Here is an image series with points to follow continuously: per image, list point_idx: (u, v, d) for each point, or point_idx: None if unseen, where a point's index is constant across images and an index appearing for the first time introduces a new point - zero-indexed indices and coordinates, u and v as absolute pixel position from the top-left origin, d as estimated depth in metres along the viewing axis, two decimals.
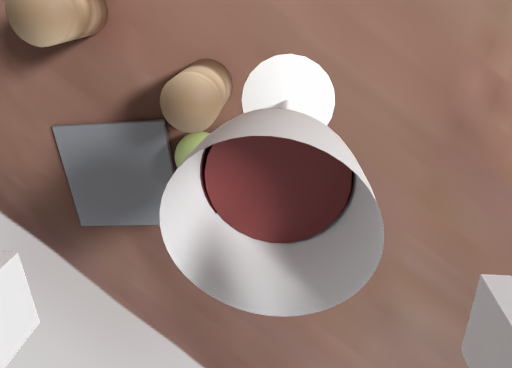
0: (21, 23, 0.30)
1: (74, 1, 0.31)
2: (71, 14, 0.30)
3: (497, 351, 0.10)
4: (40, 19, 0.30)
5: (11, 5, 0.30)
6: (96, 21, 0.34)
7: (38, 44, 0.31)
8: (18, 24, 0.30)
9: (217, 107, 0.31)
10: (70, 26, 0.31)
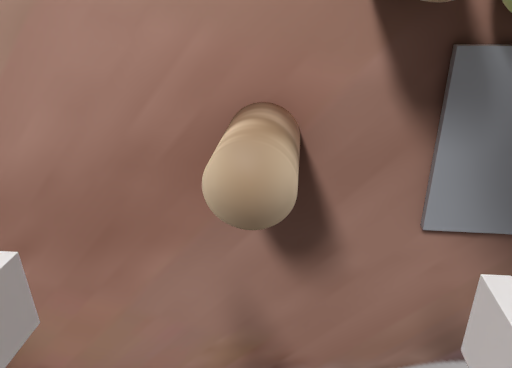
0: (260, 213, 0.20)
1: (240, 131, 0.20)
2: (255, 137, 0.19)
3: (497, 351, 0.10)
4: (256, 183, 0.19)
5: (234, 217, 0.20)
6: (278, 116, 0.23)
7: (292, 199, 0.19)
8: (261, 217, 0.20)
9: None
10: (272, 143, 0.19)
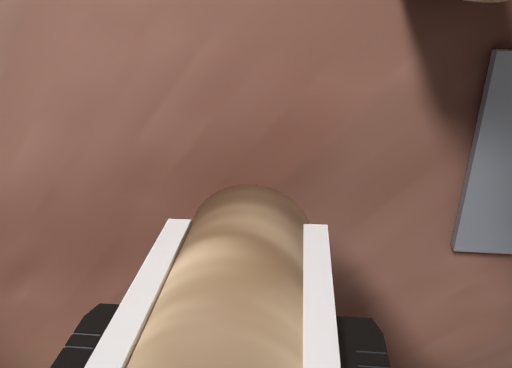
0: None
1: (198, 282, 0.10)
2: (226, 310, 0.09)
3: None
4: None
5: None
6: (275, 222, 0.13)
7: None
8: None
9: None
10: (263, 327, 0.09)
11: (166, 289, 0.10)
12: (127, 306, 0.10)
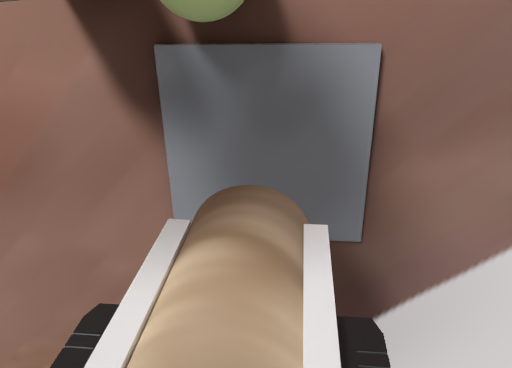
0: None
1: (198, 283, 0.10)
2: (225, 311, 0.09)
3: None
4: None
5: None
6: (275, 222, 0.13)
7: None
8: None
9: None
10: (262, 328, 0.09)
11: (165, 290, 0.10)
12: (127, 306, 0.10)
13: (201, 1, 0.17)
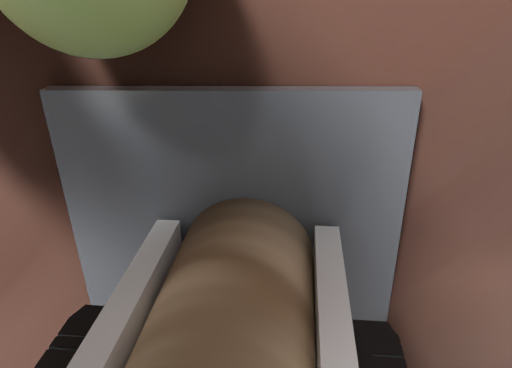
0: None
1: (186, 314, 0.09)
2: (216, 349, 0.08)
3: (314, 284, 0.12)
4: None
5: None
6: (272, 241, 0.12)
7: None
8: None
9: None
10: None
11: (152, 319, 0.10)
12: (111, 307, 0.10)
13: (78, 24, 0.08)
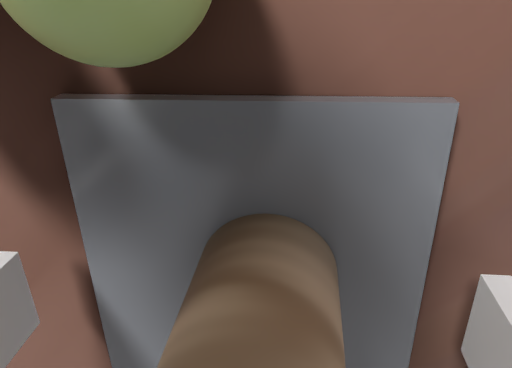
0: None
1: (210, 348, 0.08)
2: None
3: (497, 351, 0.10)
4: None
5: None
6: (298, 263, 0.11)
7: None
8: None
9: None
10: None
11: (172, 351, 0.09)
12: None
13: (94, 32, 0.07)
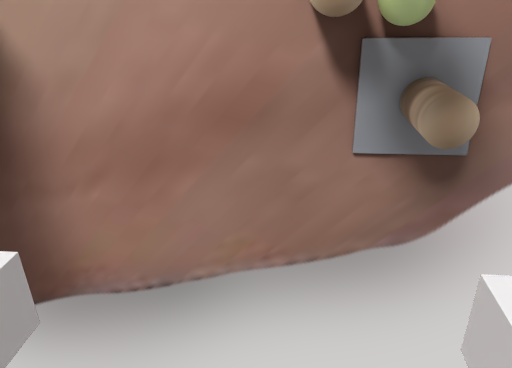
0: (455, 137, 0.34)
1: (436, 91, 0.34)
2: (451, 92, 0.33)
3: (497, 351, 0.10)
4: (455, 118, 0.33)
5: (439, 142, 0.34)
6: (443, 83, 0.37)
7: (476, 125, 0.33)
8: (456, 140, 0.34)
9: None
10: None
11: (422, 98, 0.35)
12: None
13: (413, 15, 0.34)
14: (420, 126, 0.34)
